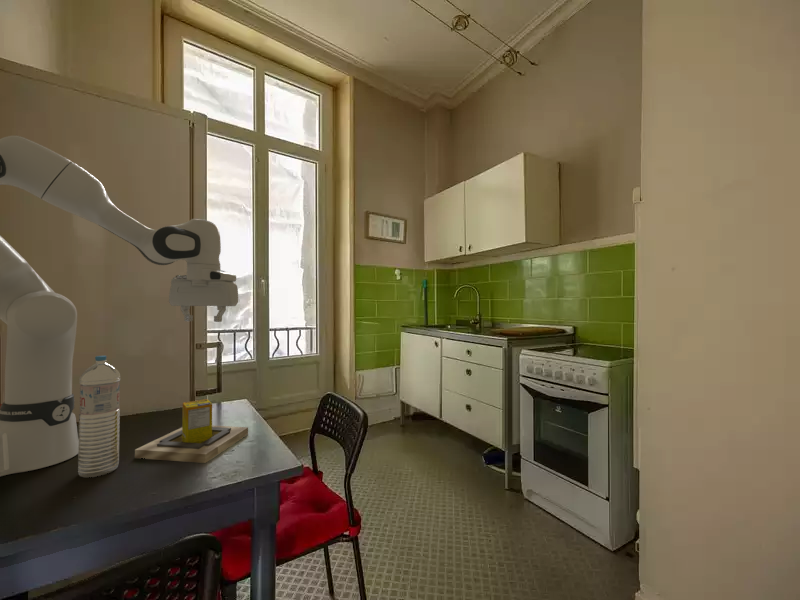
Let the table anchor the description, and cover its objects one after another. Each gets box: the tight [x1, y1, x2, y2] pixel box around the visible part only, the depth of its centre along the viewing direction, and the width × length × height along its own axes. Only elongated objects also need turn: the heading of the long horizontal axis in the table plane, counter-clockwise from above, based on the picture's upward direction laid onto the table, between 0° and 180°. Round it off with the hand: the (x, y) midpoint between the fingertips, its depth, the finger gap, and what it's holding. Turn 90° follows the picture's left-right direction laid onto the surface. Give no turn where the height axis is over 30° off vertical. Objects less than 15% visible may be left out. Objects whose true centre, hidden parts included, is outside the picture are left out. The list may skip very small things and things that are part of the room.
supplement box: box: [181, 398, 213, 443], centre depth 93 cm, size 6×6×11 cm
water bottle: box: [77, 355, 121, 479], centre depth 78 cm, size 7×7×25 cm
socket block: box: [134, 424, 249, 464], centre depth 92 cm, size 18×18×2 cm
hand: (203, 321), depth 107 cm, fingers open, 8 cm apart
